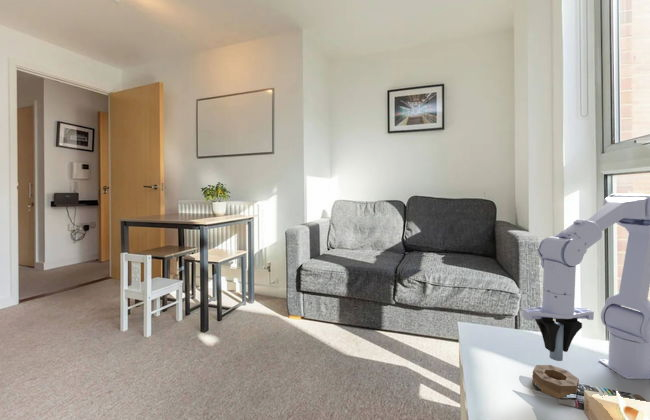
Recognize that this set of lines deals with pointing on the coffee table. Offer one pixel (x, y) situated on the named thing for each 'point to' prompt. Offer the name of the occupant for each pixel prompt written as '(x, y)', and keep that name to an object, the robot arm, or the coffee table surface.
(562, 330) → the dowel
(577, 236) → the robot arm
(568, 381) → the wooden octagonal ring
